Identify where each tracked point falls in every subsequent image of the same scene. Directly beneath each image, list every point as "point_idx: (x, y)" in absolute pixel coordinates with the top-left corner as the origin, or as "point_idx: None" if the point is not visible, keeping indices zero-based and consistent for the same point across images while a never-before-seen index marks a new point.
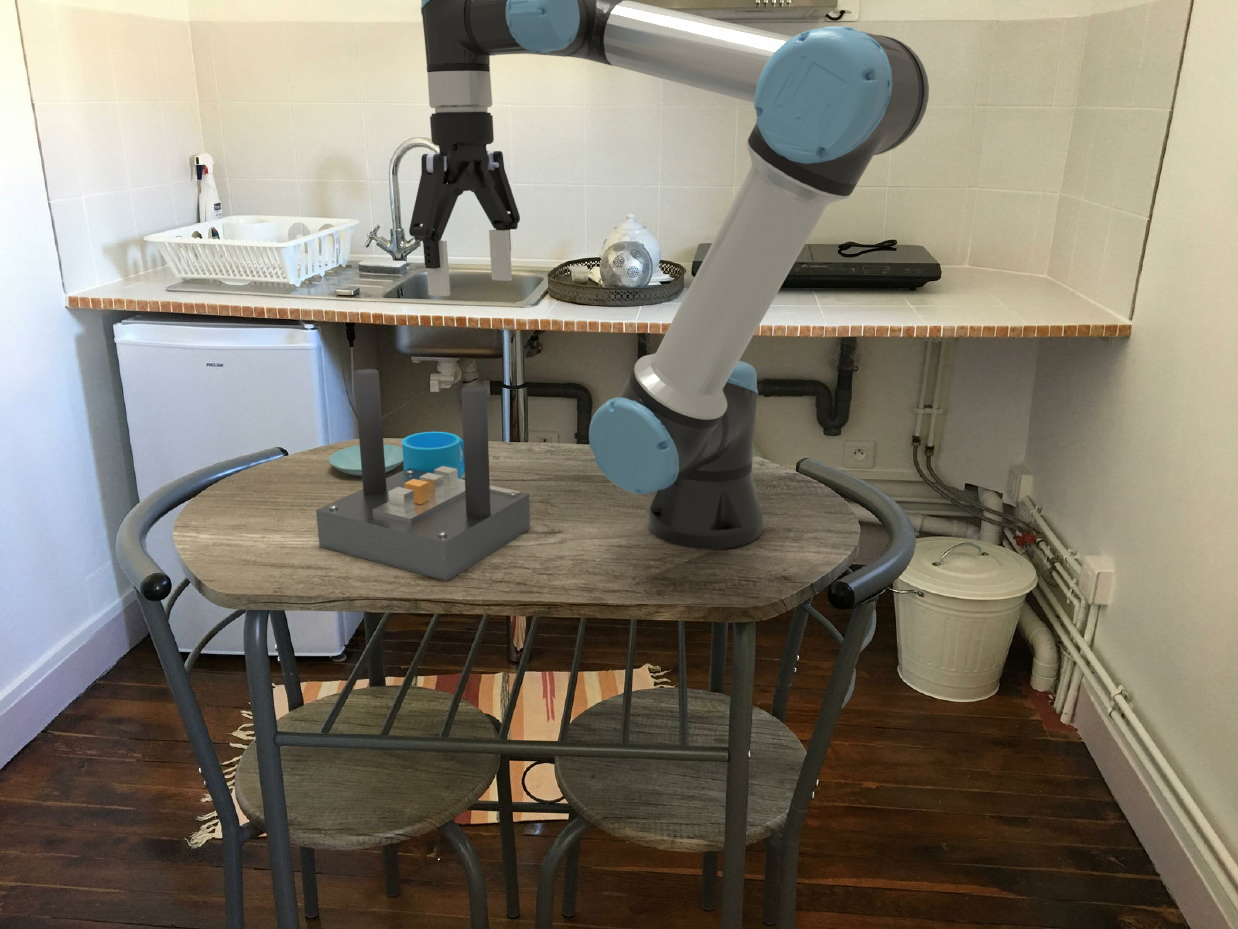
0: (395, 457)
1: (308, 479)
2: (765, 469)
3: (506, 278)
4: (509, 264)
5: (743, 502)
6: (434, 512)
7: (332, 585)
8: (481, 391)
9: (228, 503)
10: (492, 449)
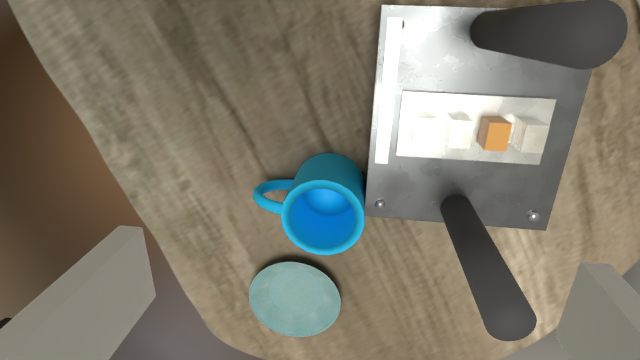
0: (263, 281)
1: (357, 324)
2: None
3: (139, 241)
4: (86, 267)
5: None
6: (504, 92)
7: (623, 133)
8: (605, 4)
9: (450, 350)
10: (163, 205)
